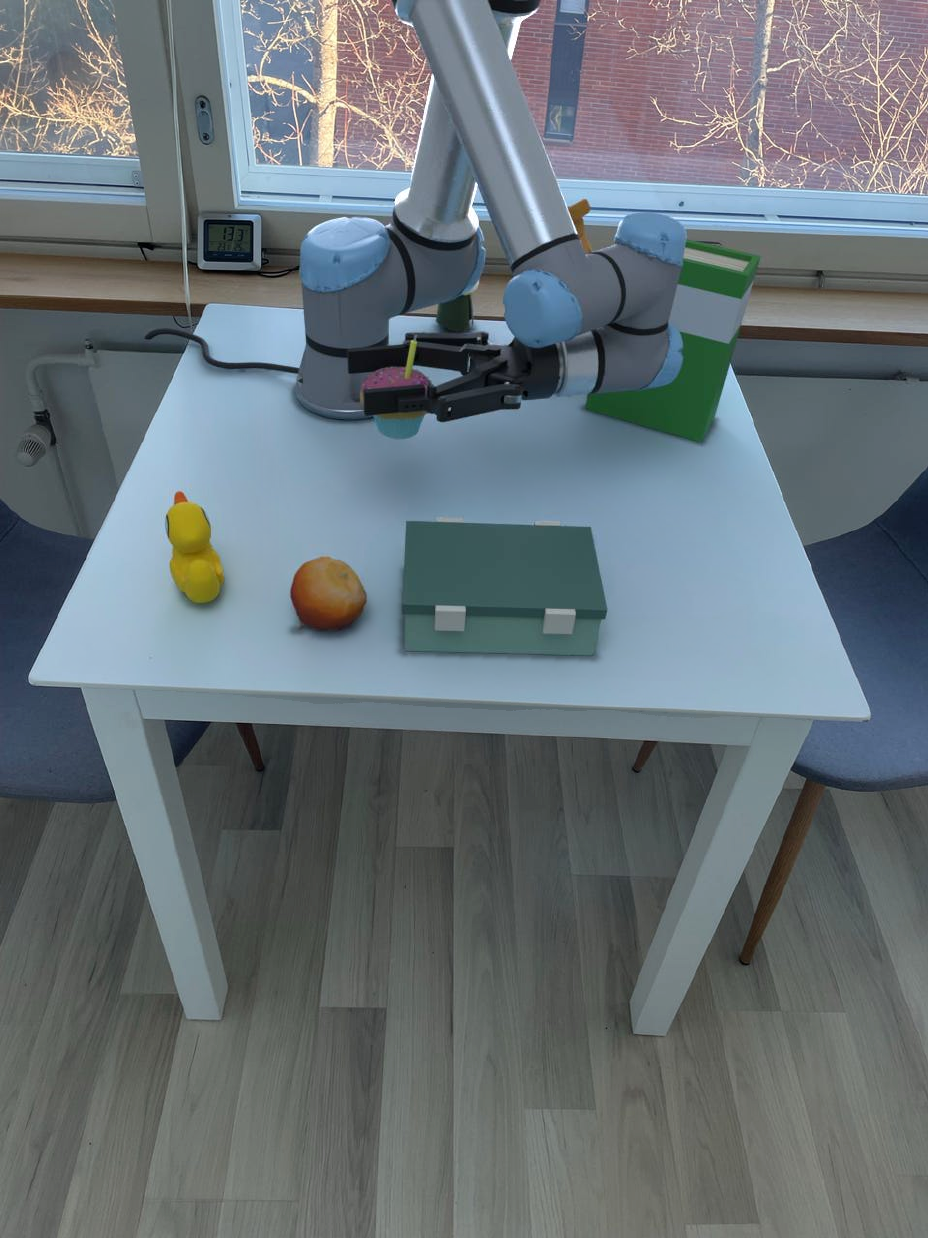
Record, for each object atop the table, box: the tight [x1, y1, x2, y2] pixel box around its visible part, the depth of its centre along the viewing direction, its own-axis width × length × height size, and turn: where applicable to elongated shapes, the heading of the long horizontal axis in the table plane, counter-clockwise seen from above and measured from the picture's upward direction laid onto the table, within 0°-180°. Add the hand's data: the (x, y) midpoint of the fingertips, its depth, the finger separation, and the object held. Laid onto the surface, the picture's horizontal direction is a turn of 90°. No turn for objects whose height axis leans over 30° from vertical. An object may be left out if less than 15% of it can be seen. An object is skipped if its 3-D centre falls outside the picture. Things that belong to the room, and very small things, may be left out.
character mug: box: [435, 279, 480, 332], centre depth 144 cm, size 11×7×13 cm, turn 148°
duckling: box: [164, 490, 225, 604], centre depth 95 cm, size 11×5×10 cm, turn 23°
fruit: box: [289, 556, 368, 632], centre depth 94 cm, size 8×8×8 cm
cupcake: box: [360, 335, 433, 440], centre depth 98 cm, size 9×8×12 cm
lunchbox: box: [401, 516, 608, 657], centre depth 96 cm, size 21×15×7 cm
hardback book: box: [584, 238, 762, 443], centre depth 122 cm, size 18×7×24 cm, turn 64°
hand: (356, 381), depth 96 cm, fingers closed on cupcake, 8 cm apart
